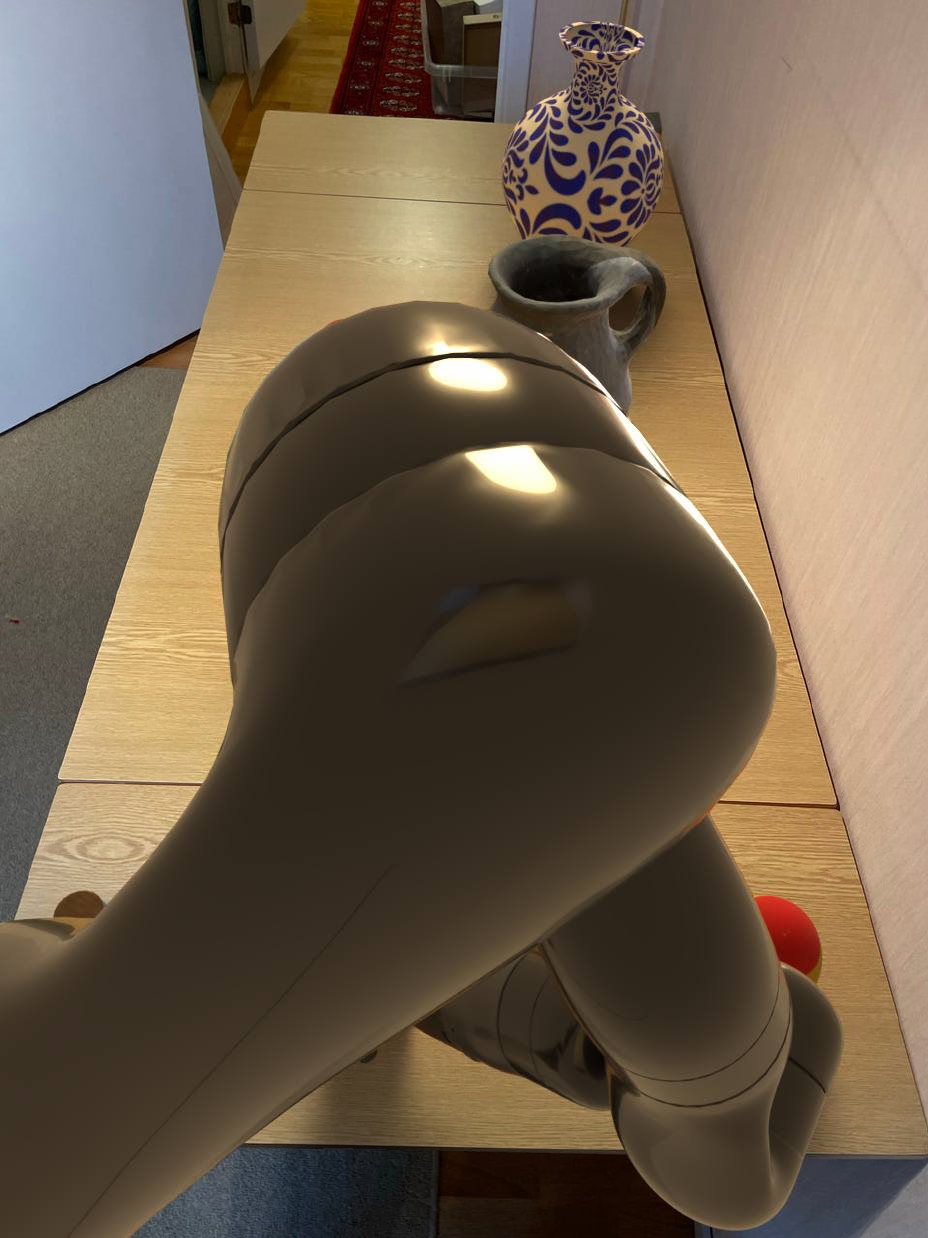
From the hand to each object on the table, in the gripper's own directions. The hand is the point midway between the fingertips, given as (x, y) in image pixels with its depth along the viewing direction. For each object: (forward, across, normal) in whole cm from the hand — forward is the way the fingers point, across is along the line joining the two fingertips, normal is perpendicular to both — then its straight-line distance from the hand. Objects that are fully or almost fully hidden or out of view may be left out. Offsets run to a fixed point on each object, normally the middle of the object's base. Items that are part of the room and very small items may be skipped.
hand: (356, 934), depth 68 cm
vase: (+42, -92, -31) cm, 105 cm away
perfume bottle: (+14, +12, -4) cm, 19 cm away
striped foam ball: (-10, -20, +21) cm, 31 cm away
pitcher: (+26, -56, -15) cm, 64 cm away
